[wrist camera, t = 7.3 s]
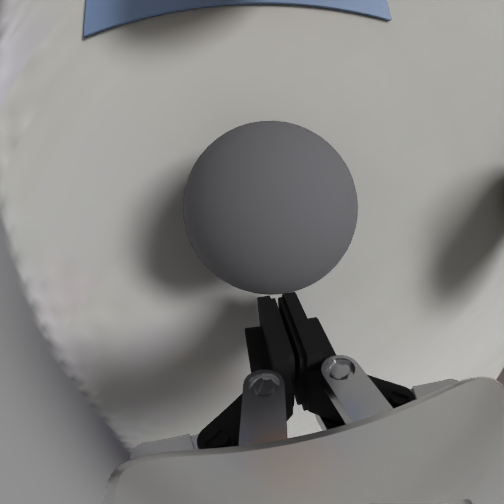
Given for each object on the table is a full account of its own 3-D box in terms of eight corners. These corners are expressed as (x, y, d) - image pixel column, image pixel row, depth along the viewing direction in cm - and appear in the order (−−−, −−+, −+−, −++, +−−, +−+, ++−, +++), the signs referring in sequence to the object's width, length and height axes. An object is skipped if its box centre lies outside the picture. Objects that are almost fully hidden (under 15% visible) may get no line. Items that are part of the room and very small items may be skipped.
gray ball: (378, 118, 5) (301, 89, 9) (127, 216, 5) (165, 143, 10) (391, 290, 8) (334, 205, 12) (232, 349, 9) (223, 248, 13)
